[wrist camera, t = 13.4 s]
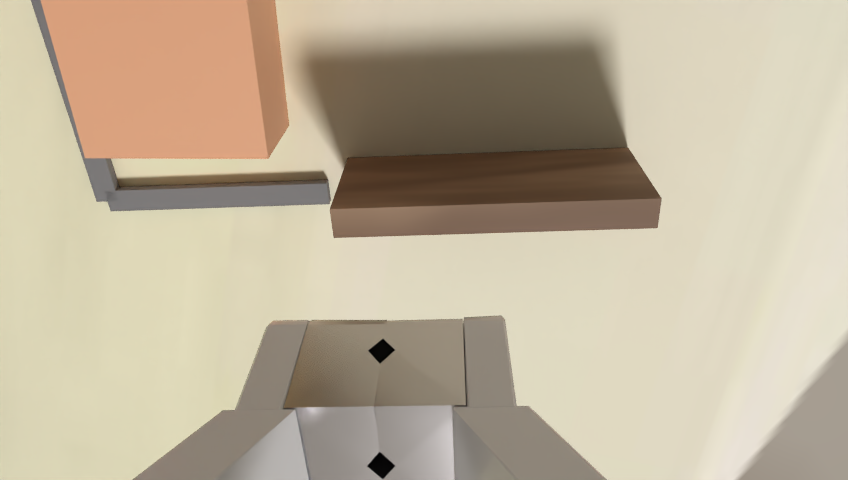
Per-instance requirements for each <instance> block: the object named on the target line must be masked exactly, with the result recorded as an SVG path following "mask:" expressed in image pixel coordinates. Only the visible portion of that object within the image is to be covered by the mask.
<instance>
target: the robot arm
mask: <svg viewBox="0 0 848 480" xmlns="http://www.w3.org/2000/svg"><path fill="white" fill-rule="evenodd" d="M133 480H607V479H606V478H605V477H604V476H602V475H601V474H600V473H599V472H598V471H597V470H596V469H595V468H594V467H593V466H592V465H591V464H590V463H589V462H588V461H587V460H586V459H584V458H583V457H582V456H581V455H580V454H579V453H578V452H577V451H576V450H575V449H574V448H573V447H572V446H571V445H570V444H569V443H567V442H566V441H565V440H564V439H563V438H562V437H561V436H560V435H559V434H558V433H557V432H556V431H555V430H554V429H553V428H552V427H551V426H549V425H548V424H547V423H546V422H545V421H544V420H543V419H542V418H541V417H540V416H539V415H538V414H537V413H536V412H535V411H534V410H532V409H531V408H530V407H529V406H517V405H516V398H515V391H514V383H513V376H512V368H511V361H510V353H509V346H508V338H507V331H506V324H505V319H504V318H503V317H502V316H483V317H464V322H463V319H436V320H395V321H387V320H311V321H308V320H283V321H272V322H271V323H270V324H269V325H268V326H267V327H266V330H265V332H264V335H263V337H262V340H261V343H260V345H259V348H258V351H257V353H256V356H255V358H254V361H253V364H252V366H251V369H250V372H249V374H248V377H247V379H246V382H245V385H244V387H243V390H242V393H241V395H240V398H239V400H238V403H237V406H236V408H235V410H223V411H221V412H220V413H219V414H218V415H216V416H215V417H214V418H212V419H211V420H210V421H208V422H207V423H206V424H204V425H203V426H202V427H201V428H199V429H198V430H197V431H195V432H194V433H193V434H191V435H190V436H189V437H188V438H186V439H185V440H184V441H182V442H181V443H180V444H178V445H177V446H176V447H174V448H173V449H172V450H171V451H169V452H168V453H167V454H165V455H164V456H163V457H161V458H160V459H159V460H157V461H156V462H155V463H154V464H152V465H151V466H150V467H148V468H147V469H146V470H144V471H143V472H142V473H141V474H139V475H138V476H137V477H135V478H134V479H133Z"/></svg>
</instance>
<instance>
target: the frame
mask: <svg viewBox="0 0 848 480" xmlns="http://www.w3.org/2000/svg"><path fill="white" fill-rule="evenodd" d="M31 2H32V5H33V8H34V11H35V14H36V17H37V20H38V23H39V27H40V30H41V33H42V36H43V39H44V42H45V45H46V48H47V51H48V54H49V57H50V60H51V63H52V66H53V69H54V72H55V75H56V78H57V82H58V85H59V88H60V91H61V94H62V97H63V100H64V103H65V106H66V109H67V112H68V115H69V118H70V121H71V124H72V127H73V130H74V133H75V137H76V140H77V143H78V146H79V149H80V152H81V155H82V158H83V161H84V164H85V167H86V170H87V173H88V176H89V179H90V182H91V185H92V188H93V191H94V195H95V198H96V201H97V202H101V201H108V204H109V207H110V210H111V211H133V210H163V209H194V208H224V207H254V206H285V205H315V204H330V201H331V198H330V191H329V183H328V180H307V181H278V182H250V183H221V184H192V185H164V186H135V187H119V185H118V181H117V178H116V175H115V171H114V168H113V165H112V162H111V158H85V156H84V153H83V149H82V146H81V142H80V139H79V135H78V132H77V128H76V124H75V121H74V117H73V114H72V110H71V107H70V103H69V100H68V96H67V93H66V89H65V85H64V82H63V78H62V75H61V71H60V68H59V64H58V61H57V57H56V54H55V50H54V46H53V43H52V39H51V36H50V32H49V29H48V25H47V22H46V18H45V15H44V11H43V7H42V4H41V0H31Z"/></svg>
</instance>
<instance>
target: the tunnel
mask: <svg viewBox="0 0 848 480" xmlns="http://www.w3.org/2000/svg"><path fill="white" fill-rule="evenodd" d="M661 199H662V198H661V197H660V195H659V194H658V192H657V191H656V189H655V188H654V186H653V185H652V183H651V182H650V180H649V179H648V177H647V176H646V174H645V173H644V171H643V170H642V168H641V167H640V165H639V163H638V162H637V160H636V159H635V157H634V156H633V154H632V153H631V151H630V150H629V148H603V149H576V150H549V151H521V152H494V153H467V154H440V155H412V156H385V157H358V158H348V159H347V162H346V165H345V168H344V171H343V173H342V176H341V179H340V182H339V185H338V188H337V190H336V193H335V196H334V199H333V202H332V205H331V207H330V214H331V221H332V229H333V236H334V238H342V237H376V236H409V235H442V234H475V233H508V232H541V231H574V230H607V229H641V228H658V220H659V213H660V206H661Z"/></svg>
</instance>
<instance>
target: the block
mask: <svg viewBox="0 0 848 480" xmlns="http://www.w3.org/2000/svg"><path fill="white" fill-rule="evenodd" d="M41 4H42V7H43V11H44V15H45V18H46V22H47V25H48V29H49V32H50V36H51V39H52V43H53V46H54V50H55V54H56V57H57V61H58V64H59V68H60V71H61V75H62V78H63V82H64V85H65V89H66V93H67V96H68V100H69V103H70V107H71V110H72V114H73V117H74V121H75V124H76V128H77V132H78V135H79V139H80V142H81V146H82V149H83V153H84V156H85V158H173V159H268V158H269V157H270V155H271V153H272V152H273V150H274V149H275V147H276V145H277V144H278V142H279V141H280V139H281V137H282V136H283V134H284V133H285V131H286V129H287V128H288V126H289V119H288V110H287V102H286V93H285V84H284V76H283V67H282V58H281V50H280V41H279V32H278V24H277V15H276V6H275V0H41Z"/></svg>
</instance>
